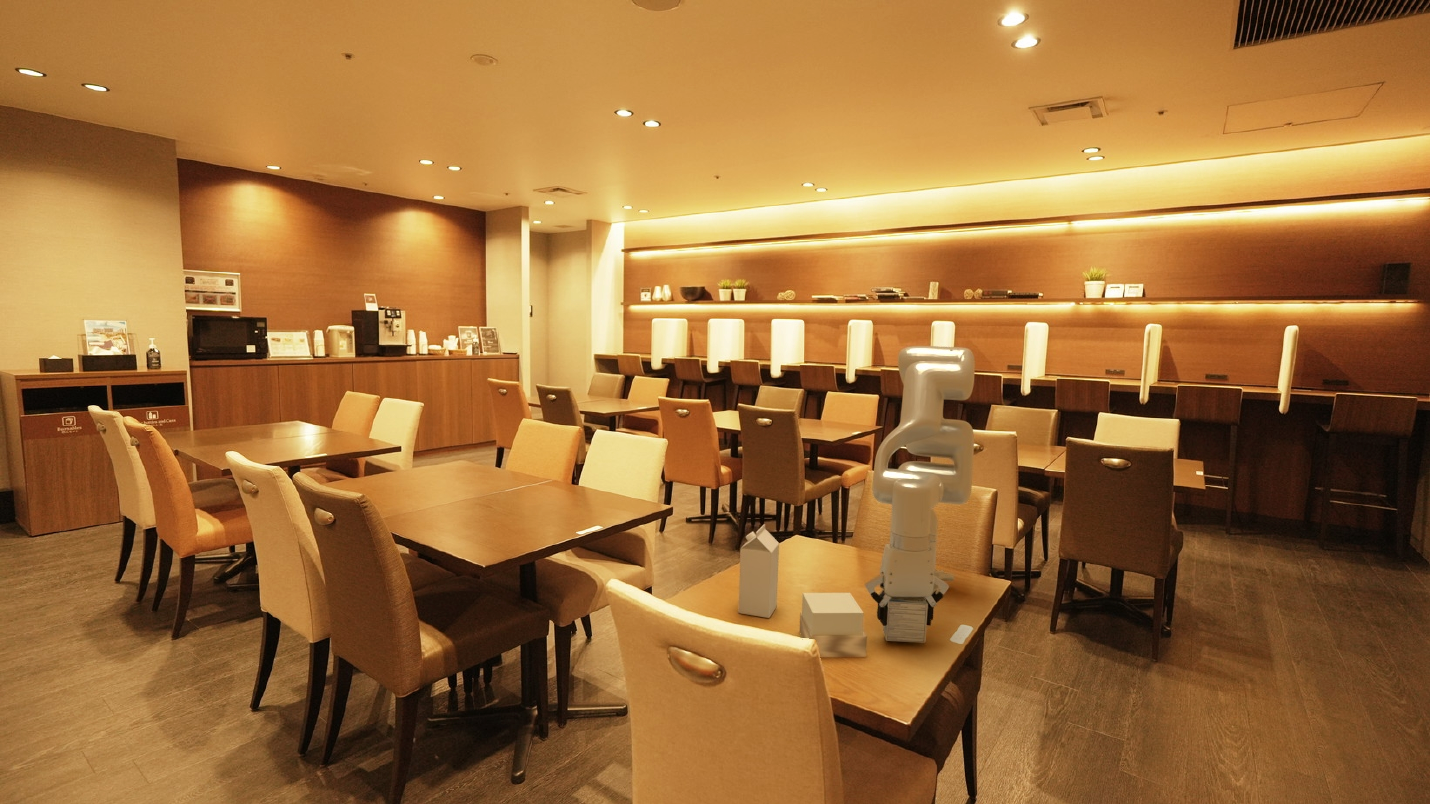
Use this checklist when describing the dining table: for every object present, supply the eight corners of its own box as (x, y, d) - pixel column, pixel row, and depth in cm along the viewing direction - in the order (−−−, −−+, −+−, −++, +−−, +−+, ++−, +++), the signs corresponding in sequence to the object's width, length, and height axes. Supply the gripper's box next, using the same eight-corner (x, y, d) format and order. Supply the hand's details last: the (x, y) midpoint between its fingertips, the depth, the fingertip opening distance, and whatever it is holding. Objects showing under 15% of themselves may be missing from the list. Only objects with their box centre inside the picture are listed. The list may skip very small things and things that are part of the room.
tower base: (850, 632, 141) (851, 612, 141) (865, 658, 130) (867, 636, 130) (799, 633, 140) (800, 612, 140) (810, 658, 130) (811, 636, 129)
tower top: (848, 613, 140) (849, 592, 140) (862, 634, 130) (863, 612, 130) (801, 613, 140) (802, 592, 139) (811, 635, 130) (812, 613, 129)
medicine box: (921, 633, 139) (923, 593, 138) (925, 644, 134) (928, 603, 133) (882, 631, 139) (884, 591, 138) (885, 641, 135) (888, 600, 134)
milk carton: (776, 606, 153) (780, 525, 151) (769, 619, 146) (772, 534, 144) (747, 601, 155) (749, 522, 153) (738, 613, 148) (740, 530, 146)
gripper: (944, 534, 138) (939, 614, 140) (861, 534, 137) (857, 614, 140) (959, 547, 131) (953, 631, 133) (871, 547, 130) (867, 631, 132)
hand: (904, 622), depth 136 cm, fingers closed on medicine box, 8 cm apart
